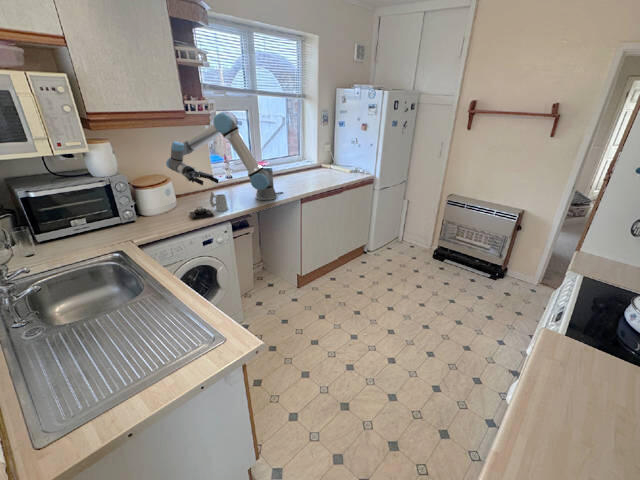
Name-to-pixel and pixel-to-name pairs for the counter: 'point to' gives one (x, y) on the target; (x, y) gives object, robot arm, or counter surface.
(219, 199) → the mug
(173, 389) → the counter surface
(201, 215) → the hob panel
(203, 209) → the hob knob
